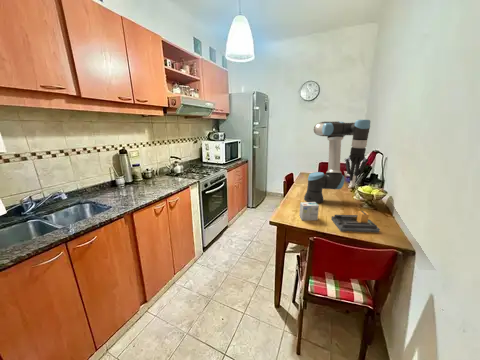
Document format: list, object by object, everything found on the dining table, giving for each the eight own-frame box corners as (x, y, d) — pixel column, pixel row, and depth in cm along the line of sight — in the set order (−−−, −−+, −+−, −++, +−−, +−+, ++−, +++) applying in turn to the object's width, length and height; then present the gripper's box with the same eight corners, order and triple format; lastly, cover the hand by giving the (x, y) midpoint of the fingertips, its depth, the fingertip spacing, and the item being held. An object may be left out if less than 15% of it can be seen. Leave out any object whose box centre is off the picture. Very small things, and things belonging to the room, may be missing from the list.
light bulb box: (313, 216, 139) (315, 201, 136) (317, 220, 133) (319, 205, 130) (298, 216, 139) (299, 201, 136) (301, 220, 133) (303, 205, 130)
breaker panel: (331, 219, 134) (332, 213, 133) (365, 220, 132) (366, 214, 131) (340, 231, 120) (341, 224, 118) (379, 232, 118) (380, 225, 117)
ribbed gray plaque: (334, 216, 133) (334, 214, 132) (366, 217, 131) (366, 215, 131) (343, 227, 119) (343, 224, 119) (379, 228, 118) (379, 226, 117)
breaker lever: (356, 220, 127) (358, 210, 125) (363, 220, 127) (365, 211, 125) (360, 223, 123) (362, 214, 121) (367, 224, 123) (369, 214, 121)
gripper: (349, 148, 114) (343, 187, 121) (373, 148, 113) (366, 187, 120) (344, 146, 121) (338, 183, 128) (366, 146, 120) (360, 183, 127)
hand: (352, 185), depth 124 cm, fingers closed
